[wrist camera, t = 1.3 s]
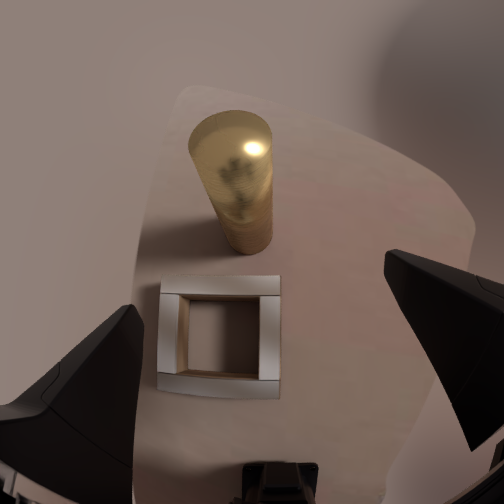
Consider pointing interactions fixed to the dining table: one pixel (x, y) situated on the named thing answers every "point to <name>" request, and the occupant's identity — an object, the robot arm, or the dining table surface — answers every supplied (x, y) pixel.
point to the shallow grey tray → (176, 336)
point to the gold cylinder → (237, 175)
